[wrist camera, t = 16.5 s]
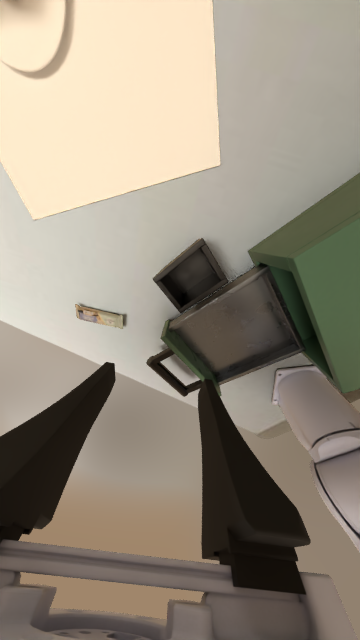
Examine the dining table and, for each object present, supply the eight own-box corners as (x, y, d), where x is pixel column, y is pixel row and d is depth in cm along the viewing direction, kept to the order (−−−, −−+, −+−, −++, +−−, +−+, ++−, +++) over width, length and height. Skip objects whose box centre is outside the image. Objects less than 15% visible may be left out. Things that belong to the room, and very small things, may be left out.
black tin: (182, 297, 19) (180, 313, 15) (161, 270, 17) (152, 279, 13) (218, 272, 17) (228, 282, 13) (198, 238, 16) (202, 237, 11)
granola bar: (125, 313, 20) (122, 317, 20) (124, 327, 22) (121, 331, 21) (77, 302, 20) (72, 305, 19) (79, 316, 21) (74, 320, 20)
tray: (190, 385, 27) (190, 407, 23) (140, 337, 22) (131, 356, 18) (295, 339, 21) (316, 360, 17) (257, 260, 16) (277, 266, 12)
